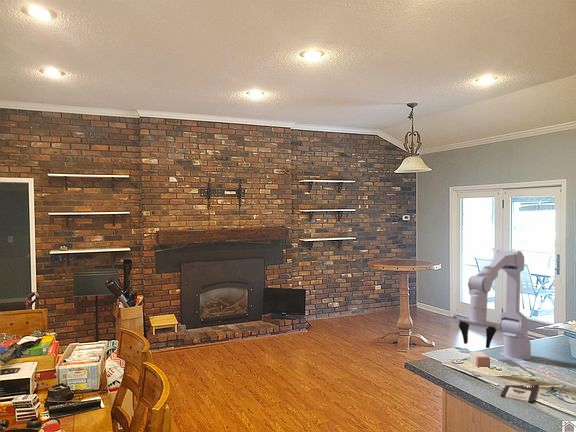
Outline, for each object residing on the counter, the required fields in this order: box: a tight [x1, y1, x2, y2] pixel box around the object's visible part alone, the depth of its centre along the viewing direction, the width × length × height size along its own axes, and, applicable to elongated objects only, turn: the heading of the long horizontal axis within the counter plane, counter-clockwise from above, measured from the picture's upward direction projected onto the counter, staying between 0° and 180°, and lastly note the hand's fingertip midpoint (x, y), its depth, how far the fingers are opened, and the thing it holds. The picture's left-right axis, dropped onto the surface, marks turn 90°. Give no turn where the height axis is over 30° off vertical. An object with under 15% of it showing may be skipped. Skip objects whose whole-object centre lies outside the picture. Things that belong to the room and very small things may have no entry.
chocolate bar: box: [500, 384, 539, 405], centre depth 139 cm, size 9×1×18 cm
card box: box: [469, 351, 491, 368], centre depth 162 cm, size 4×7×4 cm, turn 0°
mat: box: [470, 358, 537, 378], centre depth 159 cm, size 22×18×1 cm
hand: (476, 345), depth 155 cm, fingers open, 7 cm apart
